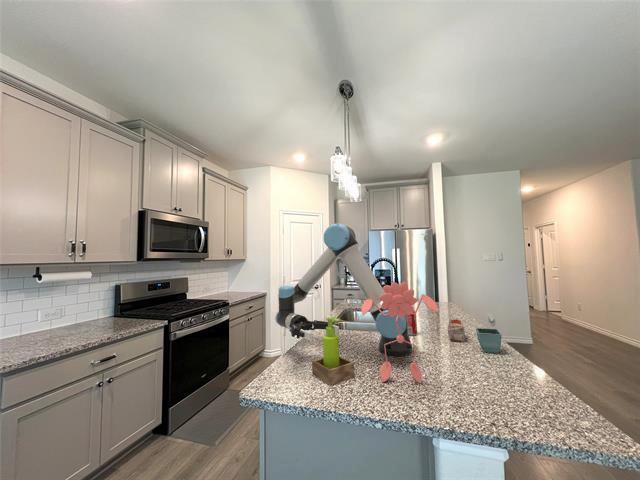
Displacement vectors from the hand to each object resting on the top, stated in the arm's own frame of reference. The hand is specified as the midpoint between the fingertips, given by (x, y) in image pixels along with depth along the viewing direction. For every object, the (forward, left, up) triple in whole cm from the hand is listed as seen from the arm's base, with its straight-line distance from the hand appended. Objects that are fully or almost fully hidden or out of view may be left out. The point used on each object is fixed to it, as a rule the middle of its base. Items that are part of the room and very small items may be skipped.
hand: (324, 333), depth 106 cm
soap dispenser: (-3, +3, -14) cm, 14 cm away
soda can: (-48, -47, -15) cm, 68 cm away
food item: (-68, -37, -15) cm, 79 cm away
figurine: (-26, +12, -15) cm, 32 cm away
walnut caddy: (-3, +3, -15) cm, 15 cm away
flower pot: (-74, -18, -15) cm, 77 cm away
